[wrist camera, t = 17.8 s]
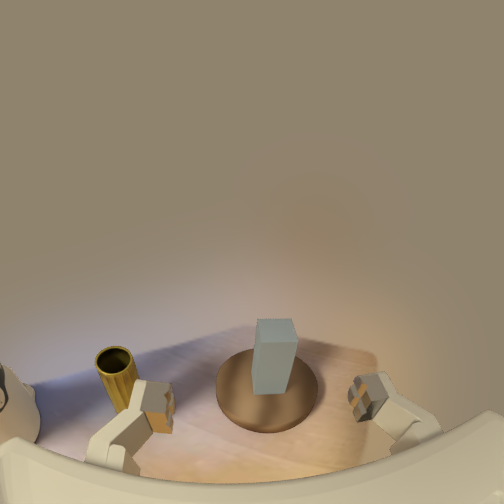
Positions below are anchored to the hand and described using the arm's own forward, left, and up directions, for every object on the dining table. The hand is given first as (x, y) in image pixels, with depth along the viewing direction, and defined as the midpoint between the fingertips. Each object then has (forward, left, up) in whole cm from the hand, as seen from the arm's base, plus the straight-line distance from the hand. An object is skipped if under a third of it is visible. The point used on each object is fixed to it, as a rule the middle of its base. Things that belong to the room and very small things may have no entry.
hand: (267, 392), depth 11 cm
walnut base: (+2, +22, -30) cm, 37 cm away
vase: (-18, +12, -30) cm, 37 cm away
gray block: (+2, +22, -27) cm, 35 cm away
